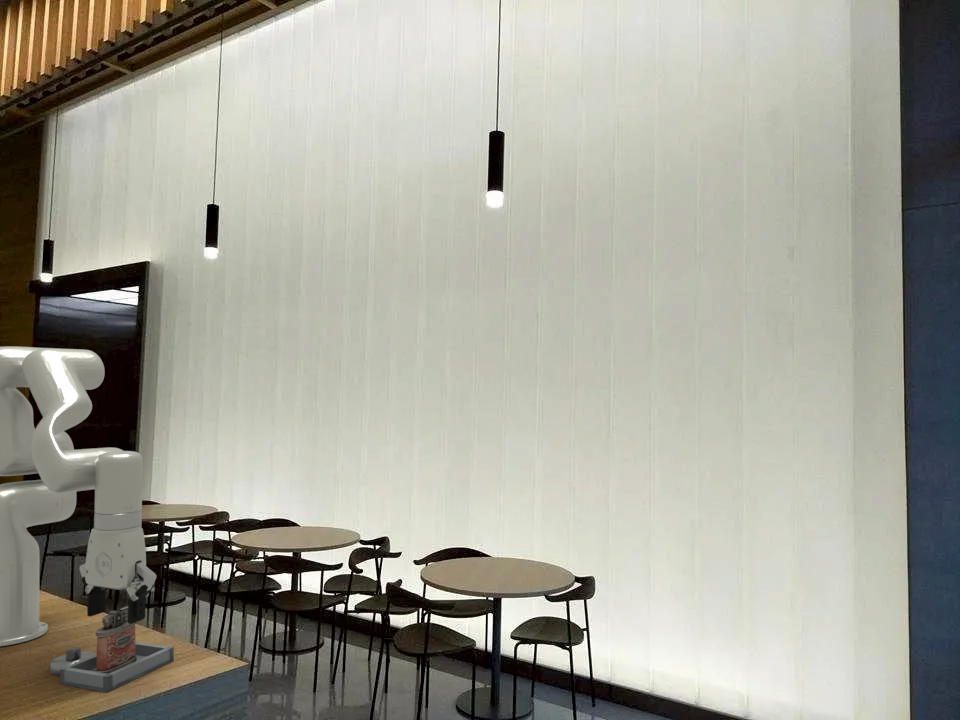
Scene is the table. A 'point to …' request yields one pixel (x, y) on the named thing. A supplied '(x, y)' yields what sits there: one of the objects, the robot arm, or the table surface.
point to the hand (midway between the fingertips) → (116, 617)
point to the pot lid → (68, 659)
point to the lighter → (115, 642)
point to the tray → (88, 678)
